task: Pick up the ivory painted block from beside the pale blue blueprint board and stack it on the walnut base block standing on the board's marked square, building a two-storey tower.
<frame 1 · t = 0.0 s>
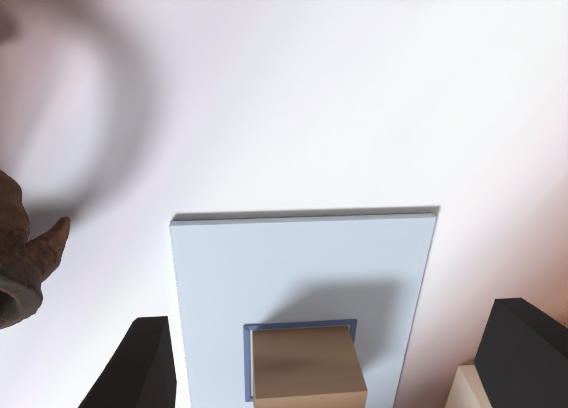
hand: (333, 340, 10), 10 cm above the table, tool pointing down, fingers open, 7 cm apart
walnut base block: (298, 361, 24), resting on blueprint board
ivory block: (484, 387, 28), on the table
blueprint board: (297, 355, 25), on the table
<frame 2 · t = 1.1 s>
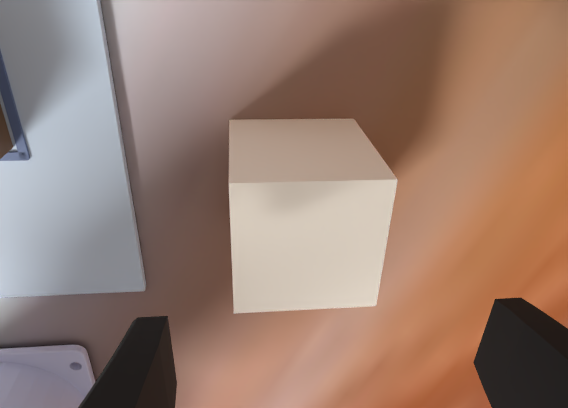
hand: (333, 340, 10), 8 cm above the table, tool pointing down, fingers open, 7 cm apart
ivory block: (290, 174, 17), on the table
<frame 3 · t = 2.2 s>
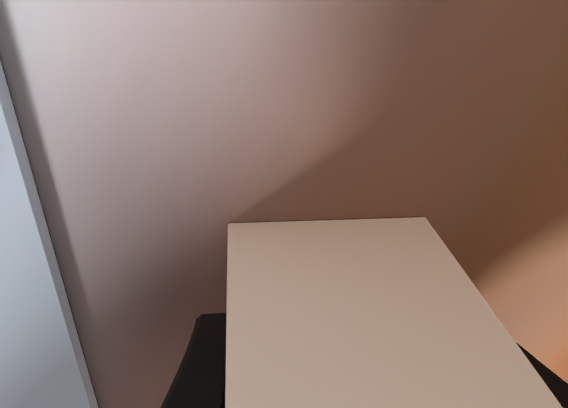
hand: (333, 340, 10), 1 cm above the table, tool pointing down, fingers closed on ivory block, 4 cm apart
ivory block: (321, 296, 11), on the table, touching gripper
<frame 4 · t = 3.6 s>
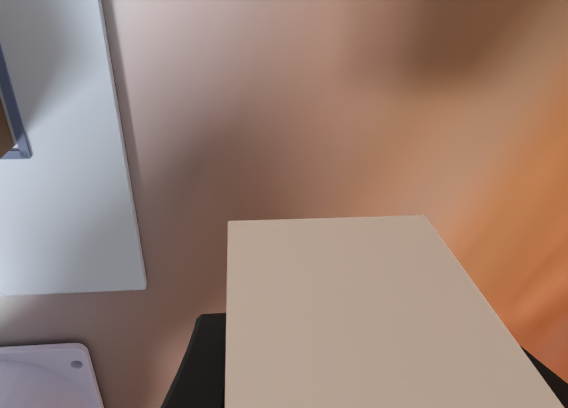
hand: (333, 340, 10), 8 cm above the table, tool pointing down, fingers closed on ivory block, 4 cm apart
ivory block: (321, 294, 11), point 7 cm above the table, touching gripper
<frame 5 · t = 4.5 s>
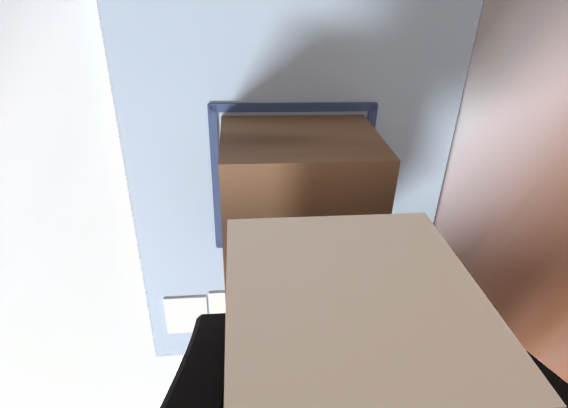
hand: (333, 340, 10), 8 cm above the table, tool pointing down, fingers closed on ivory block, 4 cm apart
walnut base block: (291, 179, 17), resting on blueprint board
ivory block: (322, 293, 11), point 7 cm above the table, touching gripper
blueprint board: (290, 174, 17), on the table
when the fingers open (7 cm above the table, at t = 5.3 s): ivory block drops 2 cm, resting on walnut base block.
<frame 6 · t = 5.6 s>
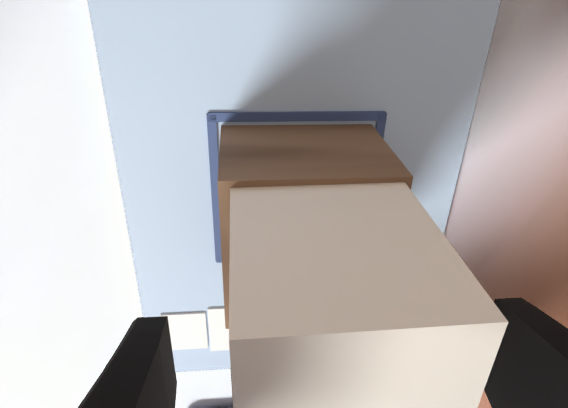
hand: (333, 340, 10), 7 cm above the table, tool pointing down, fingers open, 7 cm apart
walnut base block: (294, 191, 16), resting on blueprint board, touching ivory block
ivory block: (314, 256, 12), point 4 cm above the table, touching walnut base block
blueprint board: (293, 186, 16), on the table
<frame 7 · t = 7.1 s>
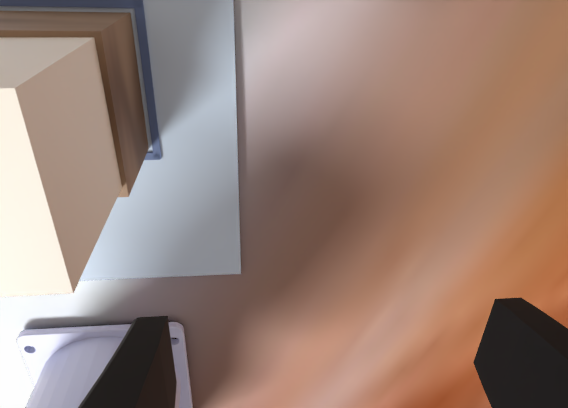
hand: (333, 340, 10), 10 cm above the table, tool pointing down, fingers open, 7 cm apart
walnut base block: (69, 85, 16), resting on blueprint board, touching ivory block
ivory block: (28, 120, 13), point 4 cm above the table, touching walnut base block
blueprint board: (73, 82, 17), on the table
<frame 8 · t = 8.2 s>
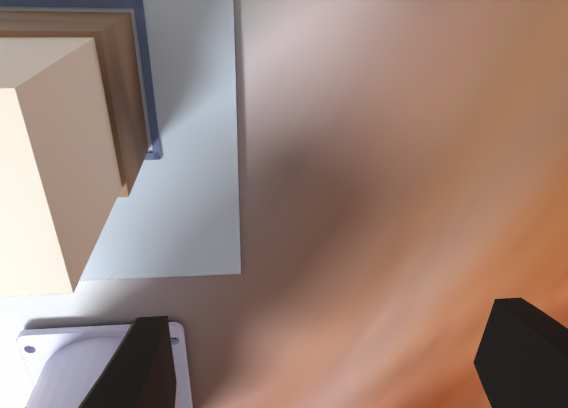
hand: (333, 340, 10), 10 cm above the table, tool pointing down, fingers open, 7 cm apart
walnut base block: (69, 85, 16), resting on blueprint board, touching ivory block
ivory block: (28, 120, 13), point 4 cm above the table, touching walnut base block
blueprint board: (73, 82, 17), on the table
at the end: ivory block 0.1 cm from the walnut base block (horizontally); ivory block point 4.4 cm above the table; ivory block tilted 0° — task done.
